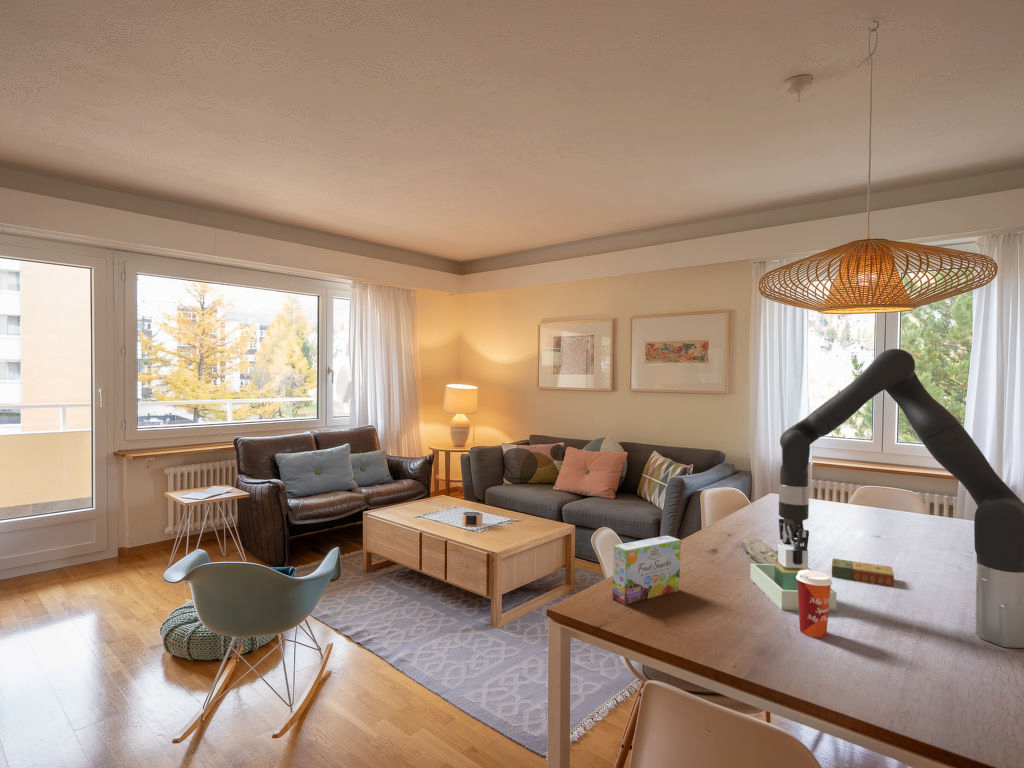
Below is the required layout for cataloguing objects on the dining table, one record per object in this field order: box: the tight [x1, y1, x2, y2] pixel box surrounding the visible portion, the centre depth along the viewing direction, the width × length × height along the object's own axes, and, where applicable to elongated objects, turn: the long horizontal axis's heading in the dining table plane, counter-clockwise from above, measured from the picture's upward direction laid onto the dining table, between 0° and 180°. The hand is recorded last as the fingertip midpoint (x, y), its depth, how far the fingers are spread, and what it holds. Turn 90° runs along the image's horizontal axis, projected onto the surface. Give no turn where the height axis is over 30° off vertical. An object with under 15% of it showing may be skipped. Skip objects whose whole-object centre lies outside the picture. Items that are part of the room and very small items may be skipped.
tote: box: [749, 563, 838, 613], centre depth 158 cm, size 22×14×5 cm, turn 177°
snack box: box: [612, 535, 682, 606], centre depth 156 cm, size 21×6×15 cm, turn 122°
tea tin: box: [774, 563, 812, 590], centre depth 157 cm, size 6×8×7 cm
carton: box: [831, 557, 895, 588], centre depth 172 cm, size 8×16×4 cm, turn 60°
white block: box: [777, 543, 809, 568], centre depth 158 cm, size 5×6×5 cm
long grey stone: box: [740, 537, 780, 564], centre depth 189 cm, size 35×5×10 cm
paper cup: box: [796, 569, 833, 639], centre depth 134 cm, size 8×8×14 cm
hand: (792, 560), depth 158 cm, fingers open, 5 cm apart
